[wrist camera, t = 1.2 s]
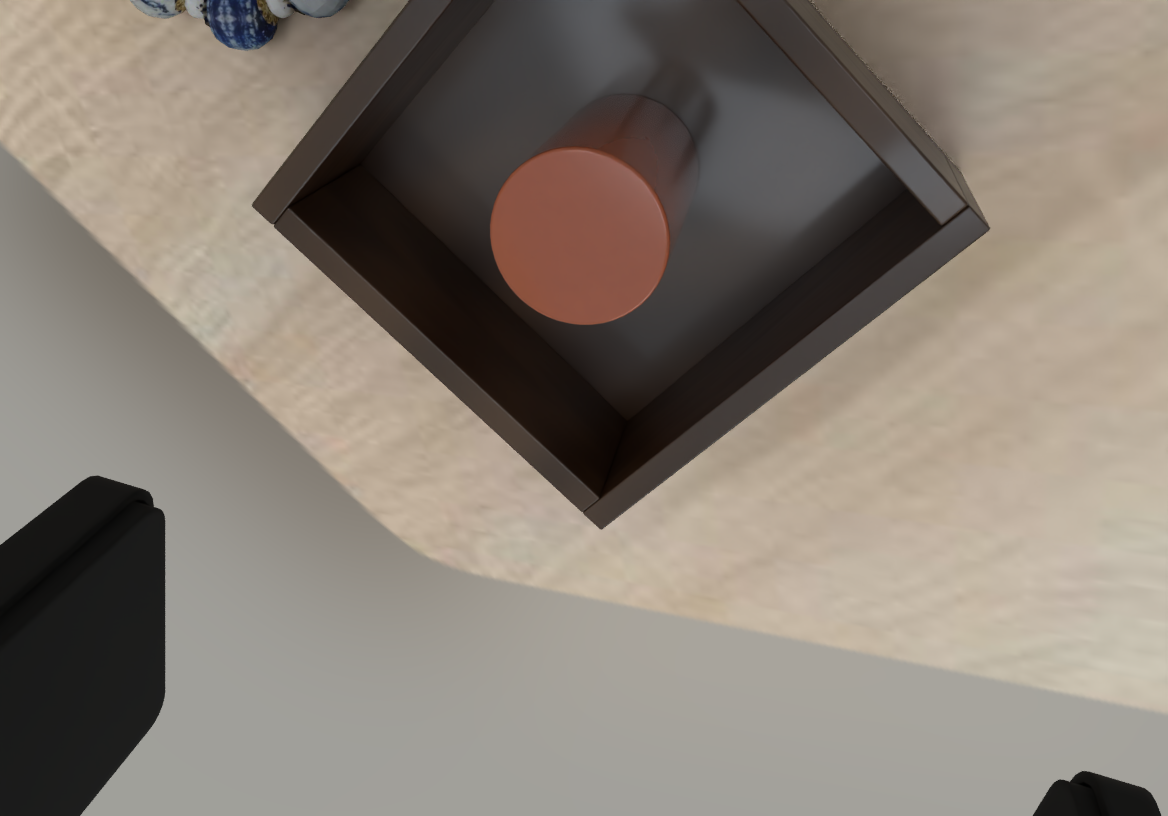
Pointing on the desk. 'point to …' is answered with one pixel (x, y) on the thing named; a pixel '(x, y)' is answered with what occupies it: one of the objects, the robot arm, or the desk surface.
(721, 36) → the brown open box
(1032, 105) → the desk surface
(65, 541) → the robot arm
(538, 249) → the orange cylinder
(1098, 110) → the desk surface
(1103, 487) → the desk surface
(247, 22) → the bracelet
